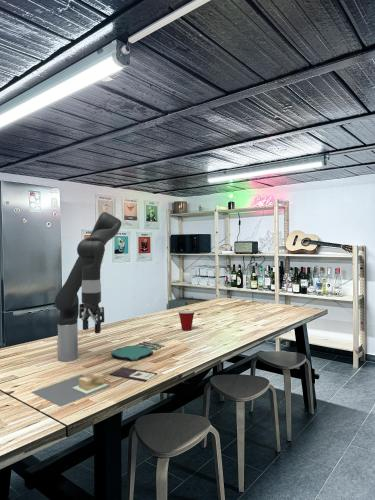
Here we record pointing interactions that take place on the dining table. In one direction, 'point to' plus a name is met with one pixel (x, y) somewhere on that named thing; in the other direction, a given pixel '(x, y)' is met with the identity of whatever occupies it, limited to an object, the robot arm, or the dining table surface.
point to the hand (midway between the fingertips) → (91, 331)
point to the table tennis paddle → (135, 351)
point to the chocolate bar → (133, 374)
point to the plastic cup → (186, 319)
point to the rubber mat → (66, 391)
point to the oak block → (91, 381)
